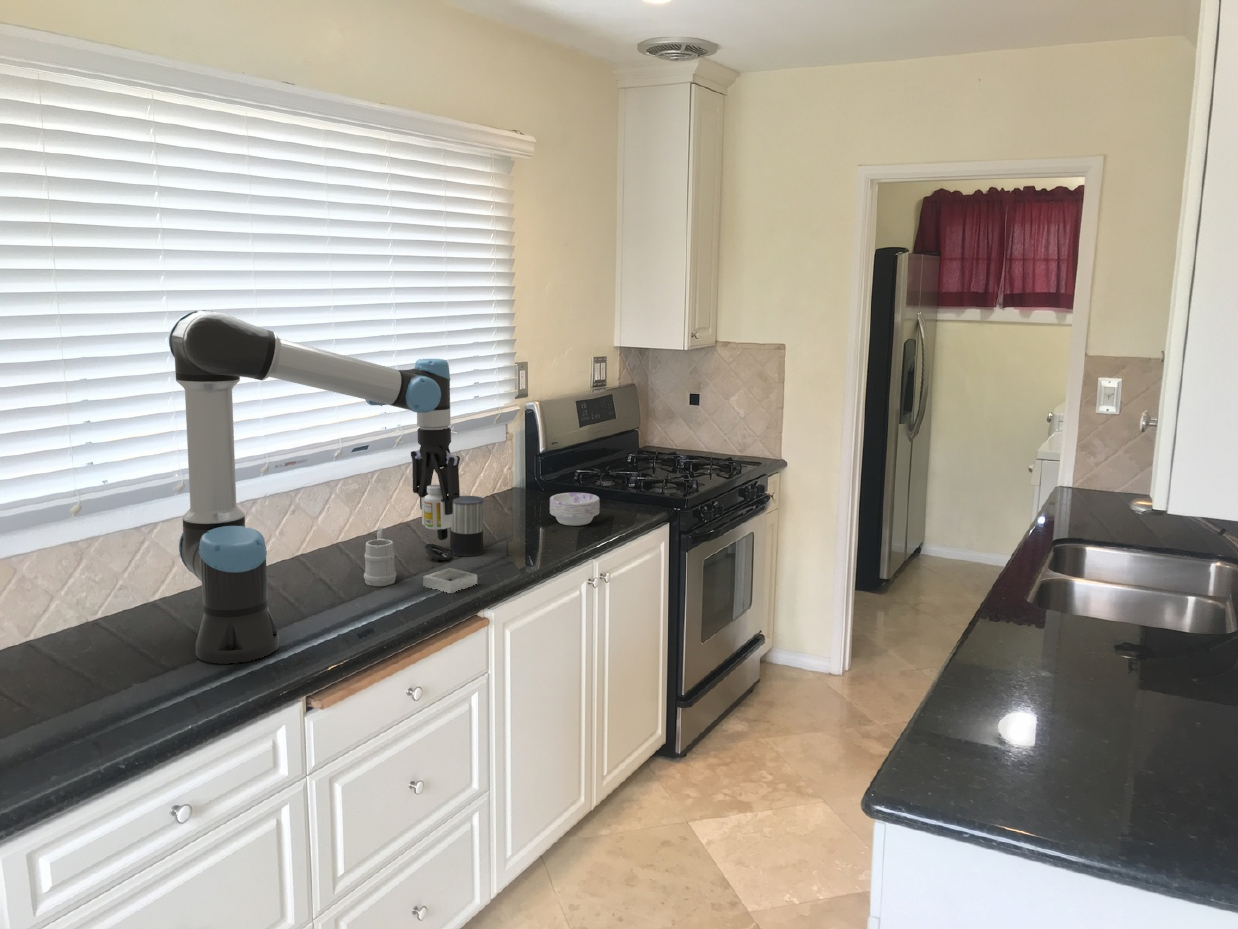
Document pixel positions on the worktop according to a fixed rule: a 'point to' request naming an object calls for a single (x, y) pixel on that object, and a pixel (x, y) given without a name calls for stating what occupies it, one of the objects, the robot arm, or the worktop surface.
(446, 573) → the square picture frame
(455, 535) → the milk frother
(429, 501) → the supplement bottle
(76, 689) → the worktop surface
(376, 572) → the mug
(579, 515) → the paper bowls
